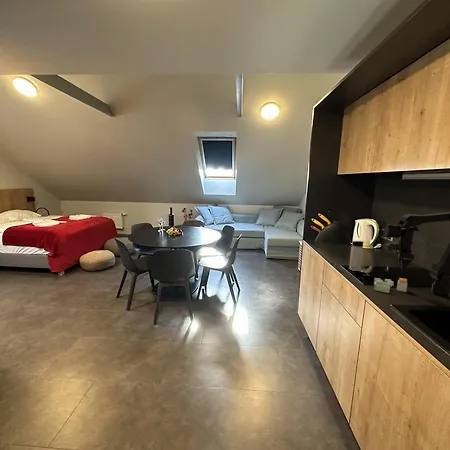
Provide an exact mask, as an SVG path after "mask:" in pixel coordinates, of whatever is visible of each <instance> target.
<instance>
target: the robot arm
mask: <svg viewBox="0 0 450 450" xmlns="http://www.w3.org/2000/svg"><path fill="white" fill-rule="evenodd" d="M437 222H449V223H450V211H447V212H438V213H430V214H429V213H428V214H411V213H406V214H404V215H402V216H401V218H400V219H399V221H398V222H397V223H396V224H390V223H389V224H388V223H386V225H385V227H384V229H383V237H384V238H388V239H389V238H391V239H398V238H399V239H398V240H397V241H395V242H390V243H386V244H385V246H386V250H387V252H392V251H395V253H396V255H397V257H398V265H399V267H401V268H400V269H401V271H402V272H404V271H406V269H407V268H408V267H409V265H410V264H411V263H412V262H413V261H414V260H415V255H414V253H413V245H414V237H415V232H420V229H419V228H418V226H420V225H424V224H428V223H429V224H430V223H437ZM429 275H430V276H431V278H432V280H433V281H434V282H433V283H432V284H431V285H432V286H431V292H432V294H433V296H434V295H435V296H440V297H444V298H450V242H449V243H448V245H447V247H446V249H445V251H444V253H443V254H442V256H441V259H440V260H439V261H438V262H437V263H436V262H433V263H432V264H431V267H430V268H429Z"/></svg>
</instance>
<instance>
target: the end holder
mask: <svg viewBox="0 0 450 450" xmlns="http://www.w3.org/2000/svg"><path fill="white" fill-rule="evenodd" d="M373 289H374V290H373V291H378V292H382V293H387V294H390V290H391V286H390V283H385V282H380V281H375V283H374V282H373Z"/></svg>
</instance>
